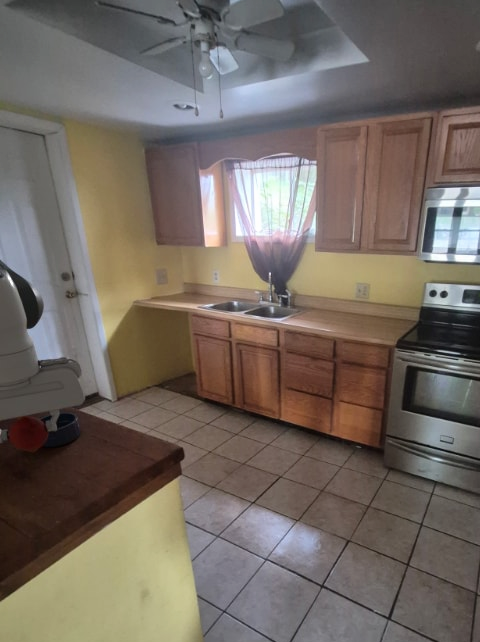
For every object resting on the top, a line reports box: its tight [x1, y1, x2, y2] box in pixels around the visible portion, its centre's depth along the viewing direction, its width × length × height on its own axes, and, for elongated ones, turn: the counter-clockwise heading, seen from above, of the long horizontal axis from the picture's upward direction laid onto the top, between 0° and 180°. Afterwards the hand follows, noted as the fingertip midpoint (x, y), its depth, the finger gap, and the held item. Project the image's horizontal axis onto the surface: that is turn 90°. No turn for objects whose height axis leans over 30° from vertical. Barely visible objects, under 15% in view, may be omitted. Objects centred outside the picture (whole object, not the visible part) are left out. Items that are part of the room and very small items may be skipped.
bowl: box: [38, 412, 82, 448], centre depth 95 cm, size 10×10×5 cm
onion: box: [8, 415, 49, 453], centre depth 68 cm, size 6×6×8 cm
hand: (28, 435), depth 68 cm, fingers closed on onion, 6 cm apart
